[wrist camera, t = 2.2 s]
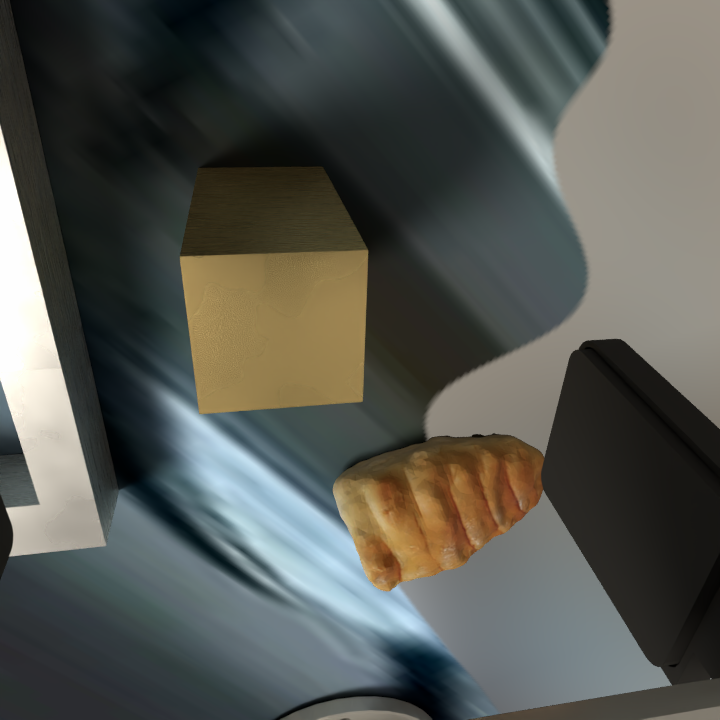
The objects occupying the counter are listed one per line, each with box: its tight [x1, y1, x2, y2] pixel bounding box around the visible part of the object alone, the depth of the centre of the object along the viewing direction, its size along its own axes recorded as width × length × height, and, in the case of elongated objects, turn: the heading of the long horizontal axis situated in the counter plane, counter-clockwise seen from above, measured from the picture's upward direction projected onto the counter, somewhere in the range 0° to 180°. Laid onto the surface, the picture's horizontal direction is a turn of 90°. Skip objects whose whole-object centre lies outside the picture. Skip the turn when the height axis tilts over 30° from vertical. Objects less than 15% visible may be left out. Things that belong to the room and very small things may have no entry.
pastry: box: [333, 433, 544, 591], centre depth 27 cm, size 9×7×4 cm
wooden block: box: [180, 167, 368, 414], centre depth 17 cm, size 4×4×8 cm
